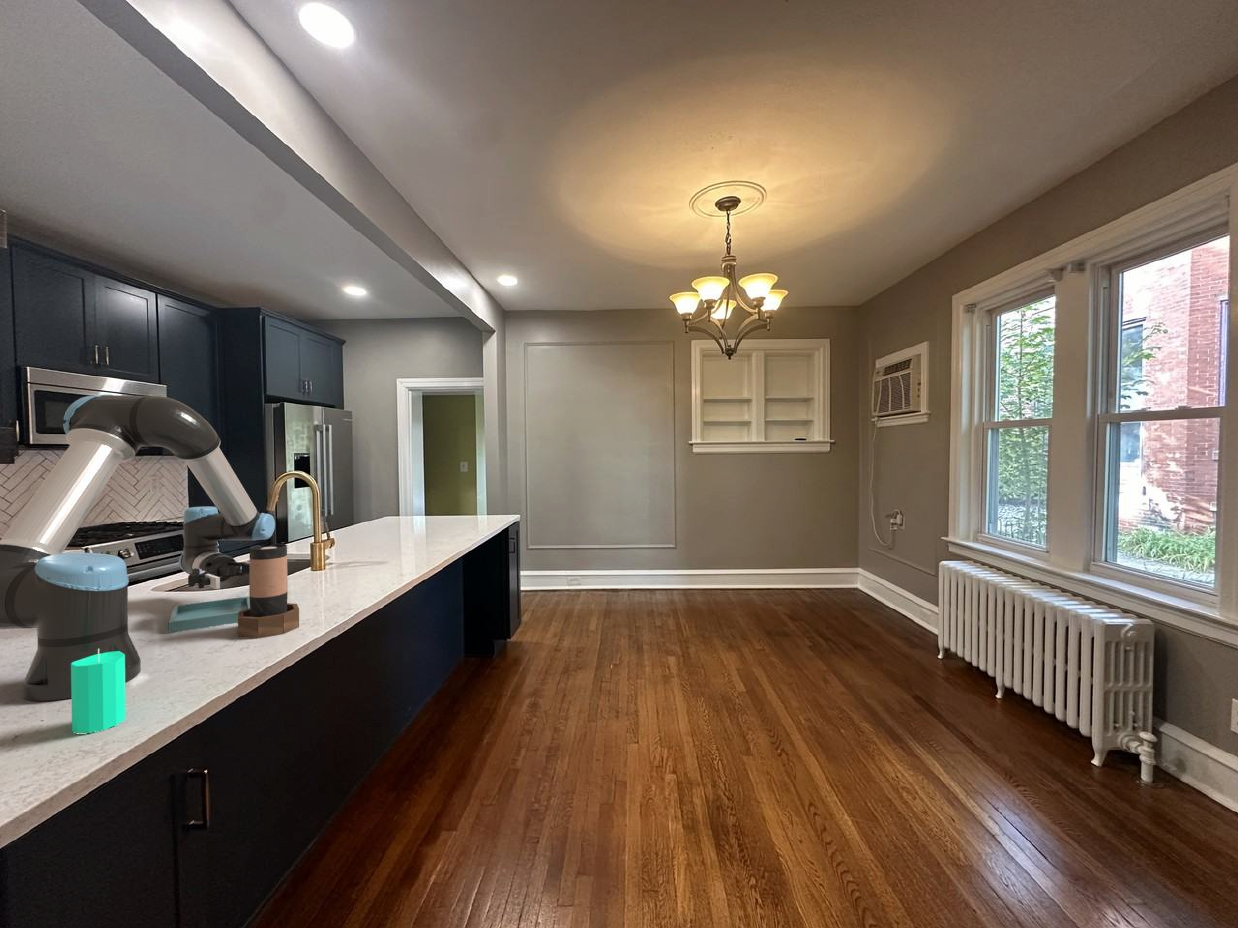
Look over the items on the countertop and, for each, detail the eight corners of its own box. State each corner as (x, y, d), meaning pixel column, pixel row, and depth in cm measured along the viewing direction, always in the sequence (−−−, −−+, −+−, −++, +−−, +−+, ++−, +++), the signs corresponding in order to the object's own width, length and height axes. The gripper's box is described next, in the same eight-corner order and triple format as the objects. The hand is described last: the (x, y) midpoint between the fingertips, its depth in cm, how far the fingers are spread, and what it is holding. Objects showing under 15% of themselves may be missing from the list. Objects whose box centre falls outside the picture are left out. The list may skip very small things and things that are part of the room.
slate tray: (168, 632, 122) (168, 622, 122) (174, 615, 135) (174, 605, 135) (252, 620, 132) (252, 610, 132) (250, 605, 144) (250, 596, 144)
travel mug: (273, 634, 122) (273, 549, 121) (241, 634, 122) (241, 549, 121) (294, 623, 129) (294, 543, 129) (264, 623, 129) (264, 543, 129)
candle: (75, 739, 77) (74, 659, 77) (69, 726, 81) (67, 649, 81) (129, 722, 82) (128, 647, 82) (121, 711, 86) (120, 638, 85)
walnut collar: (238, 641, 117) (238, 621, 117) (237, 626, 127) (237, 608, 127) (300, 630, 124) (300, 612, 124) (295, 617, 134) (295, 600, 134)
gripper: (266, 571, 153) (302, 582, 141) (156, 590, 132) (188, 604, 120) (266, 546, 152) (302, 554, 141) (156, 560, 132) (188, 572, 120)
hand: (250, 577), depth 131 cm, fingers open, 13 cm apart
